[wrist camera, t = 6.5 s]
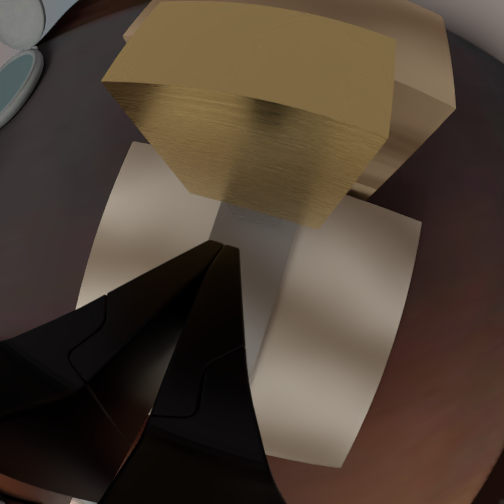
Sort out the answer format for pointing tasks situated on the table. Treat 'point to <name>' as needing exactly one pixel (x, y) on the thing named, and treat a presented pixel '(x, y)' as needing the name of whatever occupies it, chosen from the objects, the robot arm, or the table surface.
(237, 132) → the bolt
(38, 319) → the table surface
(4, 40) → the pocket watch
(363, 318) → the door and jamb
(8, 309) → the table surface
